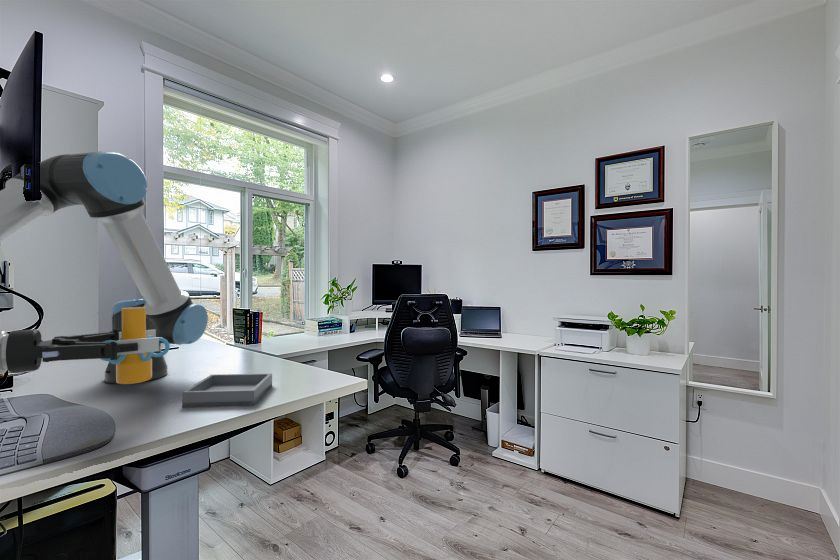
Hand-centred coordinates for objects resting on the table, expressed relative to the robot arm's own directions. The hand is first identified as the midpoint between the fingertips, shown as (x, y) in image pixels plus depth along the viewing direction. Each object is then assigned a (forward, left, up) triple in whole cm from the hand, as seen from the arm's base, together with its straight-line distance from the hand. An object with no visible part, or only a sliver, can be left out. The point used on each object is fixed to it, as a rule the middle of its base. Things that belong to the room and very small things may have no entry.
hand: (157, 339), depth 82 cm
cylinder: (+2, -3, -8) cm, 9 cm away
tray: (-15, +10, -17) cm, 25 cm away
